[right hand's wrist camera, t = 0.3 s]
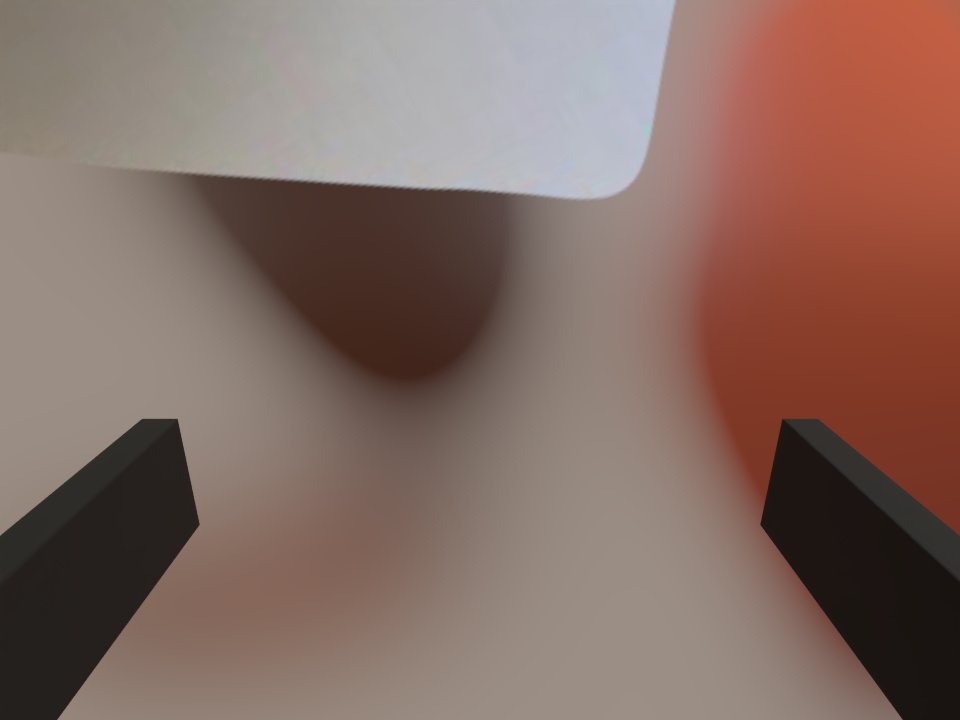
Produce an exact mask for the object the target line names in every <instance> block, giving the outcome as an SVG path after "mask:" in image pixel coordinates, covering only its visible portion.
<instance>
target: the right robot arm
mask: <svg viewBox="0 0 960 720" xmlns="http://www.w3.org/2000/svg"><path fill="white" fill-rule="evenodd" d="M199 525H200V524H199V519H198V515H197V510H196V505H195V500H194V496H193V491H192V486H191V481H190V476H189V472H188V467H187V462H186V457H185V452H184V448H183V443H182V438H181V433H180V428H179V424H178V419H142V420H140V421H139V422H138V423H137V424H135V425H134V426H133V427H132V428H131V429H129V430H128V431H127V432H126V433H125V434H123V435H122V436H121V437H120V438H119V439H117V440H116V441H115V442H114V443H112V444H111V445H110V446H109V447H108V448H106V449H105V450H104V451H103V452H101V453H100V454H99V455H98V456H97V457H95V458H94V459H93V460H92V461H91V462H89V463H88V464H87V465H86V466H84V467H83V468H82V469H81V470H80V471H78V472H77V473H76V474H75V475H74V476H72V477H71V478H70V479H69V480H68V481H66V482H65V483H64V484H63V485H61V486H60V487H59V488H58V489H57V490H55V491H54V492H53V493H52V494H50V495H49V496H48V497H47V498H46V499H44V500H43V501H42V502H41V503H40V504H38V505H37V506H36V507H35V508H33V509H32V510H31V511H30V512H29V513H27V514H26V515H25V516H24V517H22V518H21V519H20V520H19V521H18V522H16V523H15V524H14V525H13V526H12V527H10V528H9V529H8V530H7V531H5V532H4V533H3V534H2V535H1V536H0V720H57V719H58V718H59V716H60V715H61V714H62V712H63V711H64V710H65V708H66V707H67V706H68V704H69V703H70V701H71V700H72V699H73V697H74V696H75V695H76V693H77V692H78V690H79V689H80V688H81V686H82V685H83V684H84V682H85V681H86V680H87V678H88V677H89V675H90V674H91V673H92V671H93V670H94V669H95V667H96V666H97V664H98V663H99V662H100V660H101V659H102V658H103V656H104V655H105V654H106V652H107V651H108V649H109V648H110V647H111V645H112V644H113V642H114V641H115V640H116V638H117V637H118V636H119V634H120V633H121V632H122V630H123V629H124V627H125V626H126V625H127V623H128V622H129V621H130V619H131V618H132V616H133V615H134V614H135V612H136V611H137V610H138V608H139V607H140V606H141V604H142V603H143V602H144V600H145V599H146V597H147V596H148V595H149V593H150V592H151V591H152V589H153V588H154V586H155V585H156V584H157V582H158V581H159V580H160V578H161V577H162V575H163V574H164V573H165V571H166V570H167V569H168V567H169V566H170V565H171V563H172V562H173V560H174V559H175V558H176V556H177V555H178V554H179V552H180V551H181V549H182V548H183V547H184V545H185V544H186V543H187V541H188V540H189V538H190V537H191V536H192V534H193V533H194V532H195V530H196V529H197V528H198V526H199ZM761 526H762V528H763V529H764V530H765V532H766V533H767V534H768V536H769V537H770V538H771V540H772V541H773V543H774V544H775V545H776V547H777V548H778V549H779V551H780V552H781V554H782V555H783V556H784V558H785V559H786V560H787V562H788V563H789V565H790V566H791V567H792V569H793V570H794V571H795V573H796V574H797V575H798V577H799V578H800V580H801V581H802V582H803V584H804V585H805V586H806V588H807V589H808V591H809V592H810V593H811V595H812V596H813V597H814V599H815V600H816V601H817V603H818V604H819V606H820V607H821V608H822V610H823V611H824V612H825V614H826V615H827V616H828V618H829V619H830V621H831V622H832V623H833V625H834V626H835V627H836V629H837V630H838V632H839V633H840V634H841V636H842V637H843V638H844V640H845V641H846V643H847V644H848V645H849V647H850V648H851V649H852V651H853V652H854V653H855V655H856V656H857V658H858V659H859V660H860V662H861V663H862V664H863V666H864V667H865V668H866V670H867V671H868V673H869V674H870V675H871V677H872V678H873V680H874V681H875V682H876V684H877V685H878V686H879V688H880V689H881V690H882V692H883V693H884V695H885V696H886V697H887V699H888V700H889V701H890V703H891V704H892V706H893V707H894V708H895V710H896V711H897V712H898V714H899V715H900V716H901V718H902V719H903V720H960V536H959V535H958V534H957V533H956V532H954V531H953V530H952V529H951V528H950V527H948V526H947V525H946V524H945V523H944V522H942V521H941V520H940V519H939V518H937V517H936V516H935V515H934V514H933V513H931V512H930V511H929V510H928V509H927V508H925V507H924V506H923V505H922V504H920V503H919V502H918V501H917V500H916V499H914V498H913V497H912V496H911V495H910V494H908V493H907V492H906V491H905V490H903V489H902V488H901V487H900V486H899V485H897V484H896V483H895V482H894V481H893V480H891V479H890V478H889V477H888V476H886V475H885V474H884V473H883V472H882V471H880V470H879V469H878V468H877V467H876V466H874V465H873V464H872V463H871V462H869V461H868V460H867V459H866V458H865V457H863V456H862V455H861V454H860V453H859V452H857V451H856V450H855V449H854V448H852V447H851V446H850V445H849V444H848V443H846V442H845V441H844V440H843V439H841V438H840V437H839V436H838V435H837V434H835V433H834V432H833V431H832V430H831V429H829V428H828V427H827V426H826V425H824V424H823V423H822V422H821V421H820V420H818V419H782V423H781V428H780V433H779V438H778V443H777V447H776V452H775V457H774V462H773V467H772V472H771V476H770V481H769V486H768V491H767V495H766V500H765V505H764V510H763V515H762V519H761Z"/></svg>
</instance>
